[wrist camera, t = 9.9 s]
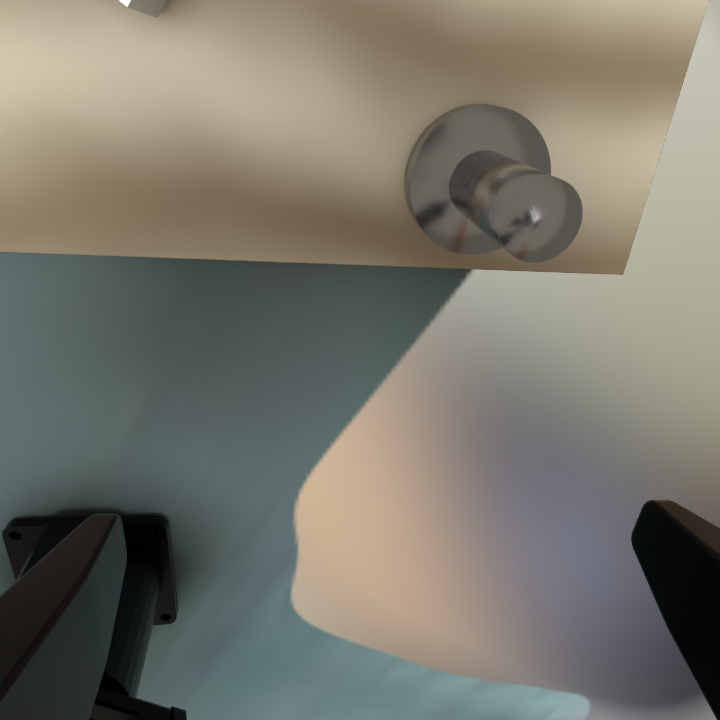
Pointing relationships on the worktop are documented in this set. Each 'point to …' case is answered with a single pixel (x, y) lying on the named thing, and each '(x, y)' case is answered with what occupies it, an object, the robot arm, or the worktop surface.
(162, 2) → the grey square frame
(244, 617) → the worktop surface
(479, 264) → the board
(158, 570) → the robot arm
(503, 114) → the stand
